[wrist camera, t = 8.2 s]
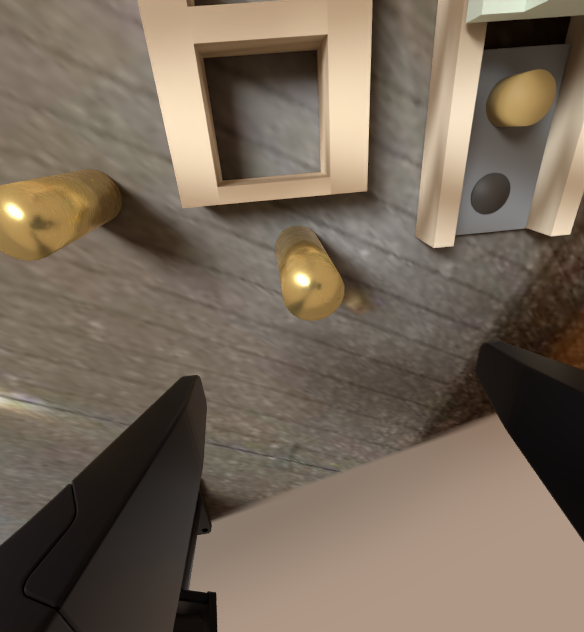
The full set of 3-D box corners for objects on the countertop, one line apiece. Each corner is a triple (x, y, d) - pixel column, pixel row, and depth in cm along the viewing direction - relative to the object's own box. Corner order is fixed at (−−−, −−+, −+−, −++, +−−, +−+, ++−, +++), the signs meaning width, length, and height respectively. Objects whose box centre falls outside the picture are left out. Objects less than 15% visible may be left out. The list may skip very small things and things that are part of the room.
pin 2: (320, 266, 19) (344, 317, 14) (277, 271, 19) (285, 323, 14) (318, 223, 18) (344, 260, 13) (273, 227, 18) (279, 266, 13)
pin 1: (128, 219, 17) (70, 256, 12) (79, 224, 17) (-2, 263, 12) (113, 167, 16) (41, 181, 11) (60, 171, 16) (-40, 189, 10)
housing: (538, 224, 19) (570, 234, 17) (415, 236, 19) (433, 248, 17) (677, -305, 11) (766, -399, 9) (467, -299, 11) (513, -396, 9)
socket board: (353, 183, 17) (367, 191, 15) (192, 198, 17) (182, 208, 15) (356, -194, 12) (380, -272, 9) (115, -185, 11) (79, -264, 9)
